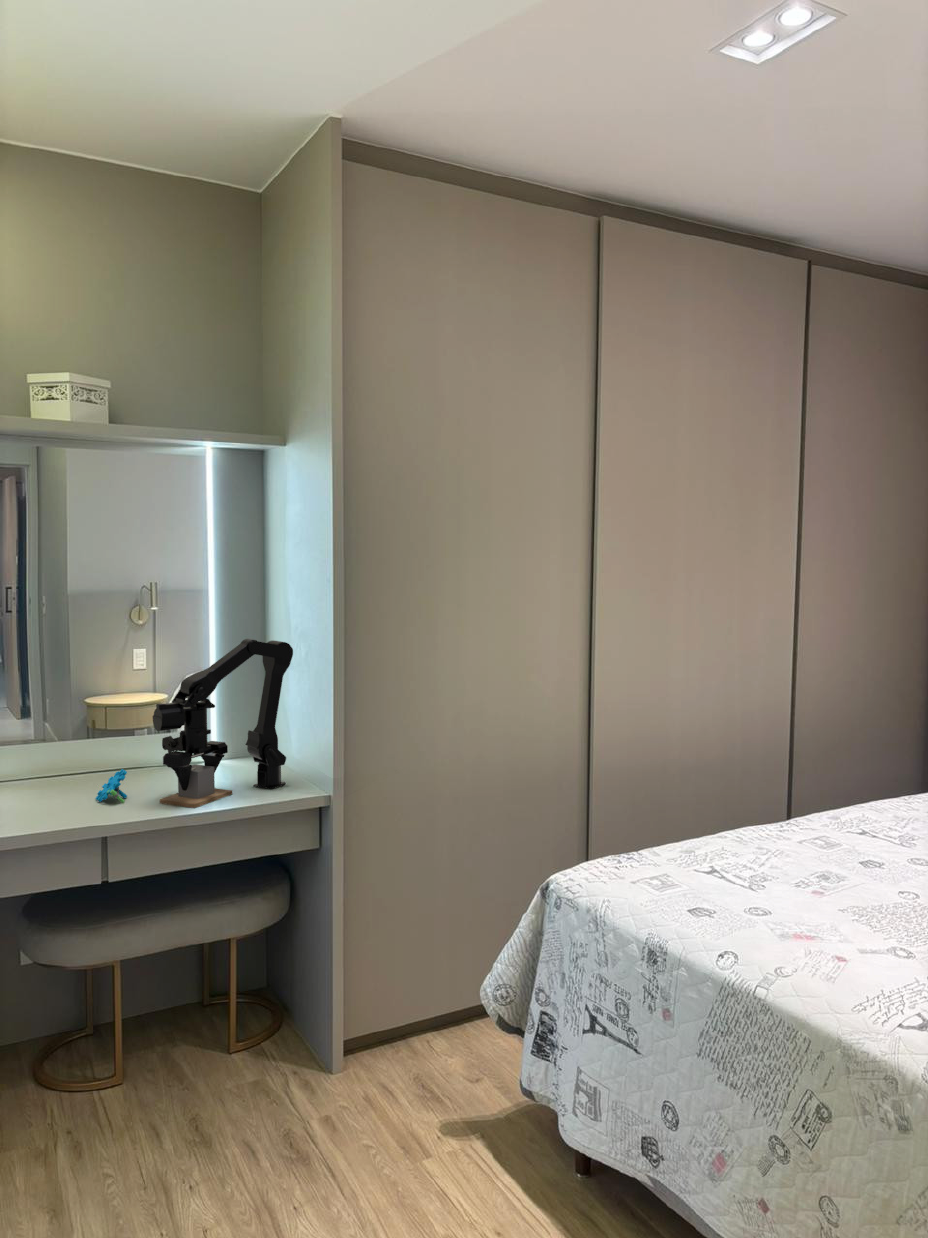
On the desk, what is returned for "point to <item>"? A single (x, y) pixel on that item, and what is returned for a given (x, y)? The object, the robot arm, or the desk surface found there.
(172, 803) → the board
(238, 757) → the desk surface
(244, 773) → the desk surface
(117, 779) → the blue lumpy piece
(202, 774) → the grey cube with hole
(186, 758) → the robot arm
